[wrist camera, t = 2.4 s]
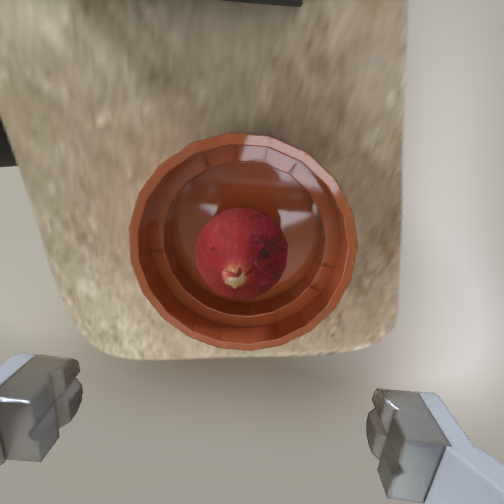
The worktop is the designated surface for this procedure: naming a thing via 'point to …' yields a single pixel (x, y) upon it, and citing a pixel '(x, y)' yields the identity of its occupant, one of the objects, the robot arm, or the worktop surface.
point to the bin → (274, 2)
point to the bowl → (239, 196)
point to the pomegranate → (241, 253)
